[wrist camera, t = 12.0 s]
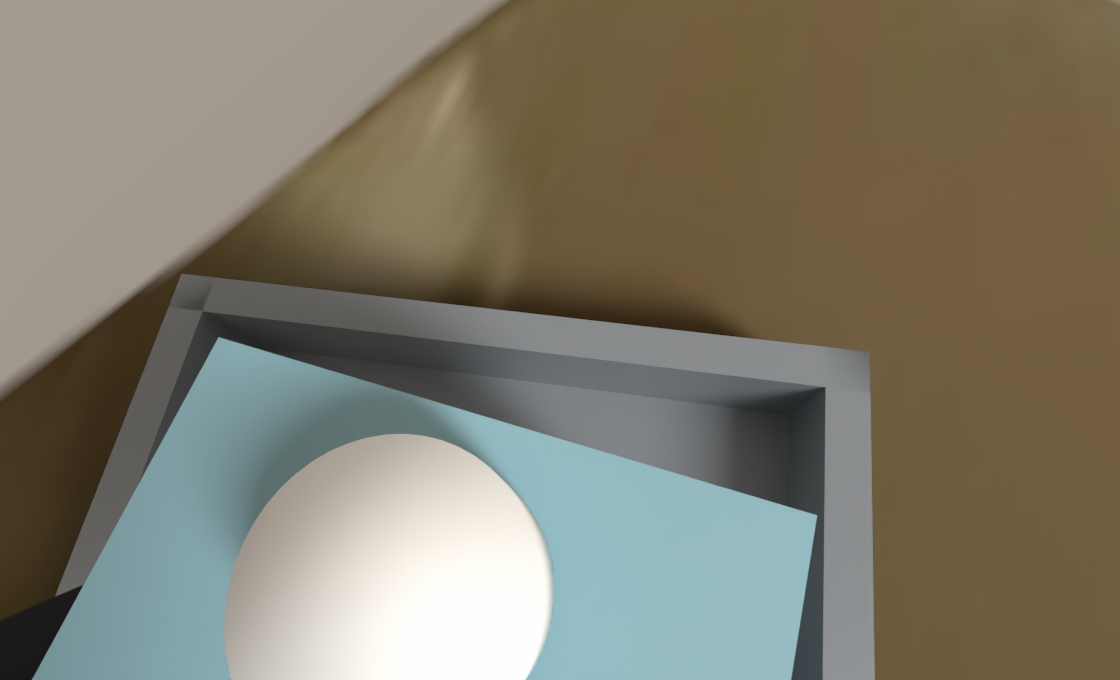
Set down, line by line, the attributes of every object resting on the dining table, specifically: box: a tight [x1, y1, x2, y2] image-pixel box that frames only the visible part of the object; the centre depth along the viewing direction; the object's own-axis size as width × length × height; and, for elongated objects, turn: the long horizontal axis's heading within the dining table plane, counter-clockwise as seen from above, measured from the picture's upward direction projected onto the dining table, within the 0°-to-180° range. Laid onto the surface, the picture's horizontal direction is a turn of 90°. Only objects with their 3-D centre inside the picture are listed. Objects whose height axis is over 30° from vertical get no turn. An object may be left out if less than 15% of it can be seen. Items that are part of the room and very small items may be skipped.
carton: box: [32, 337, 817, 680], centre depth 9 cm, size 5×5×14 cm
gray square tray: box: [55, 274, 875, 680], centre depth 15 cm, size 17×18×4 cm
